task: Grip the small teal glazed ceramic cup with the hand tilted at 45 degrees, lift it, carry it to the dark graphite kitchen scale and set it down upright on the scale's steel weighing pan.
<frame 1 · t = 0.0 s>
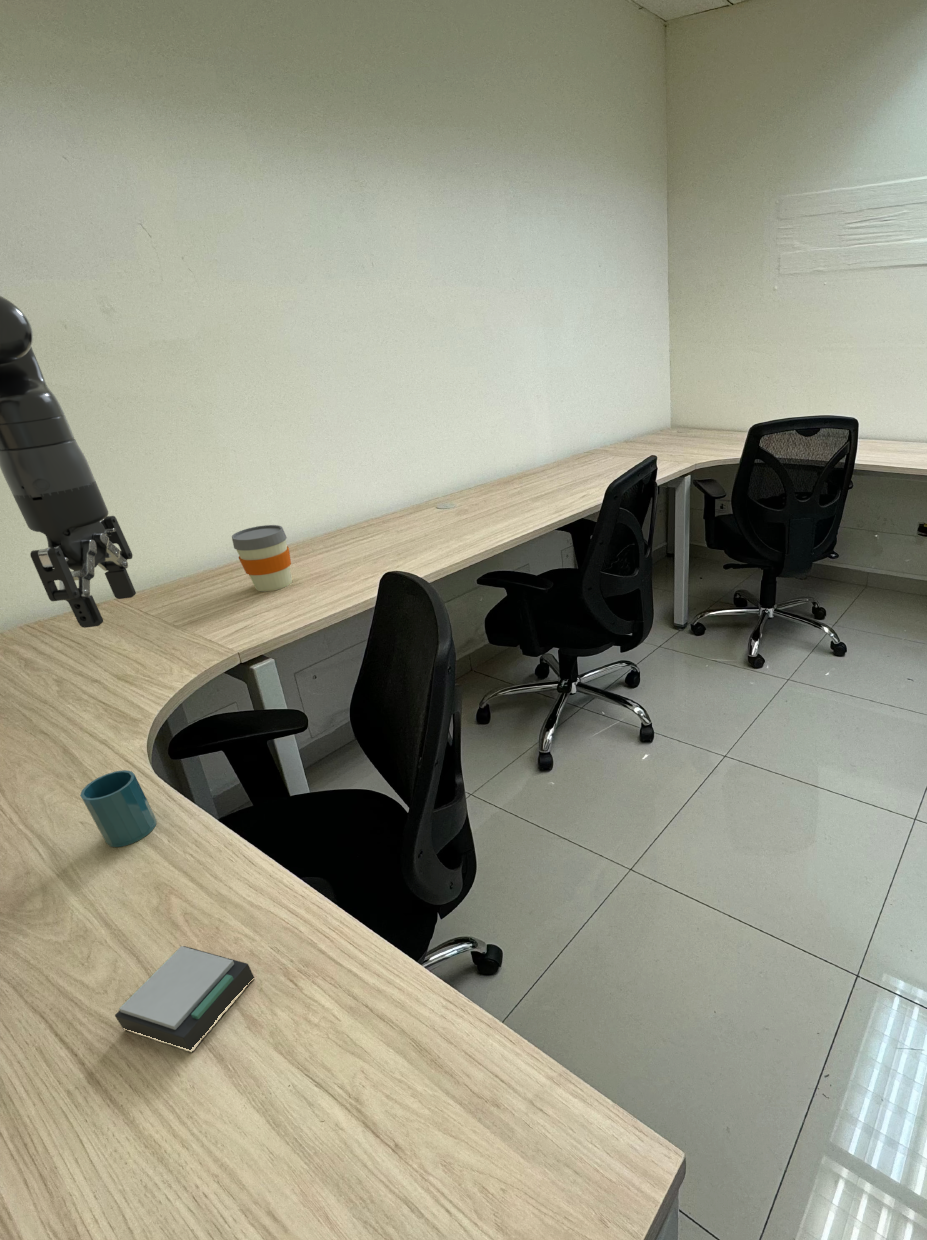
hand: (110, 610, 81), 33 cm above the table, tool pointing down, fingers open, 8 cm apart
scale: (191, 1003, 68), on the table
reusable coffee cup: (274, 585, 175), on the table
ceramic cup: (131, 831, 92), on the table
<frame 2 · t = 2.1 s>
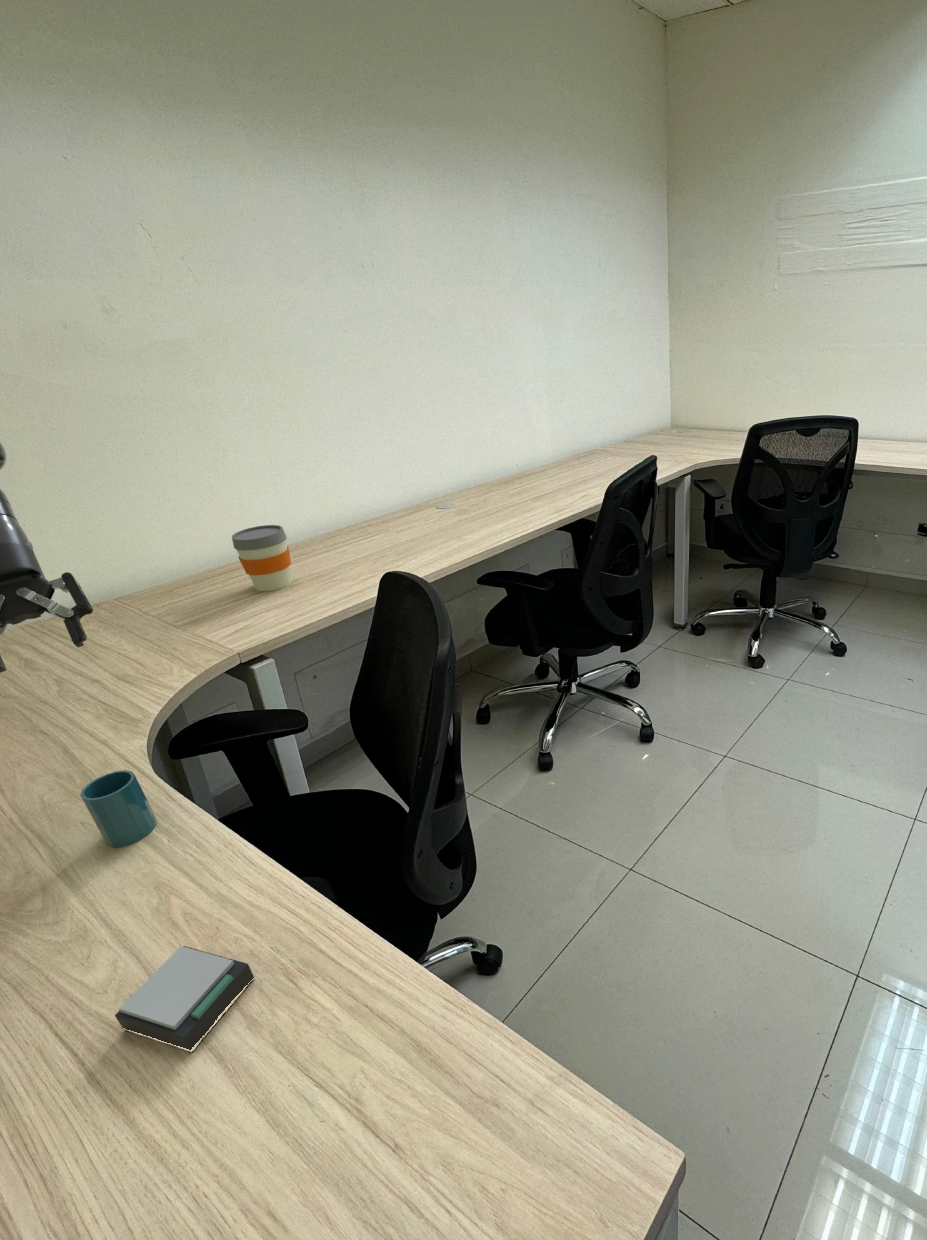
hand: (41, 657, 87), 25 cm above the table, tool tilted 40°, fingers open, 8 cm apart
nothing on the table moved.
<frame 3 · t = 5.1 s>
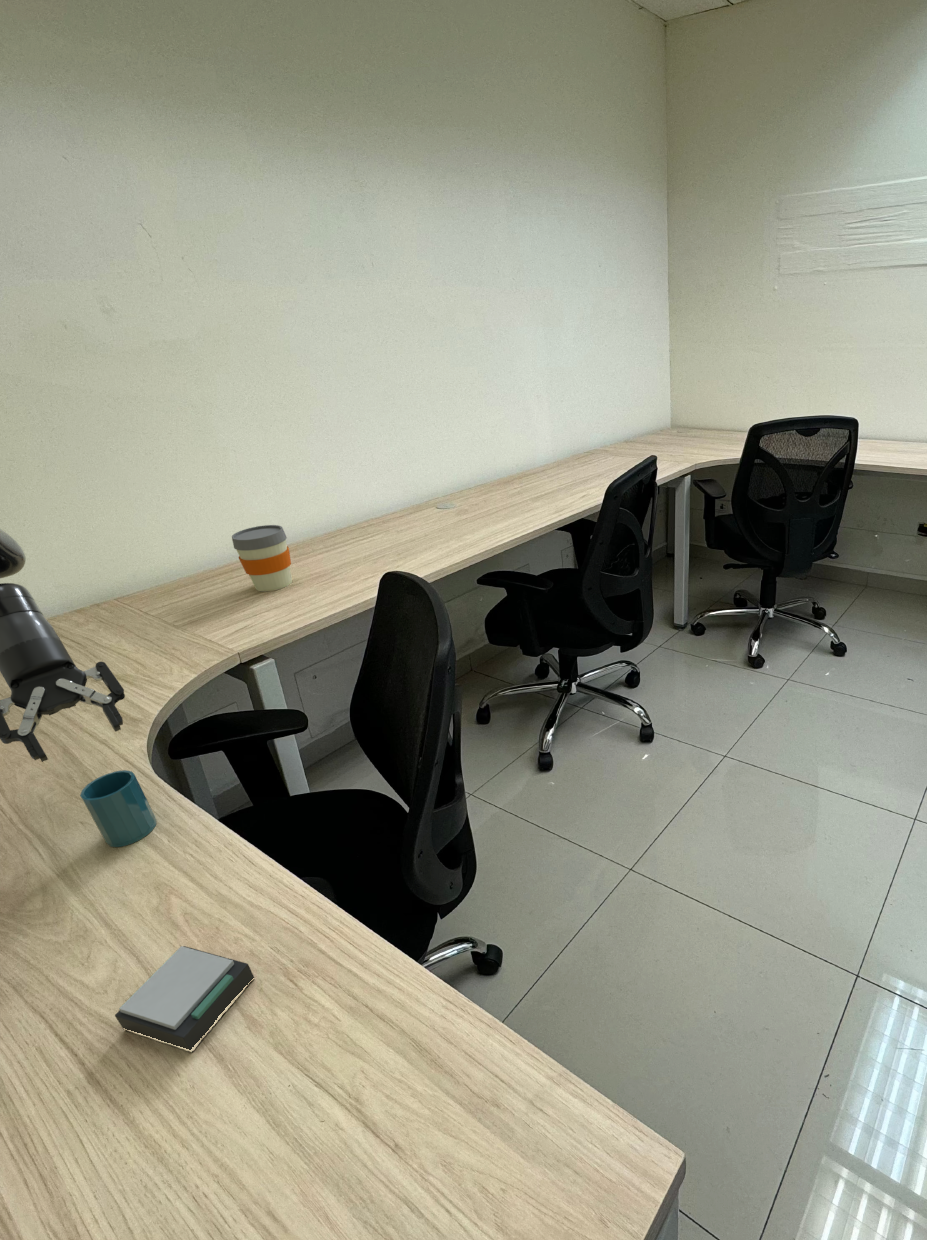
hand: (82, 743, 91), 12 cm above the table, tool tilted 45°, fingers open, 8 cm apart
nothing on the table moved.
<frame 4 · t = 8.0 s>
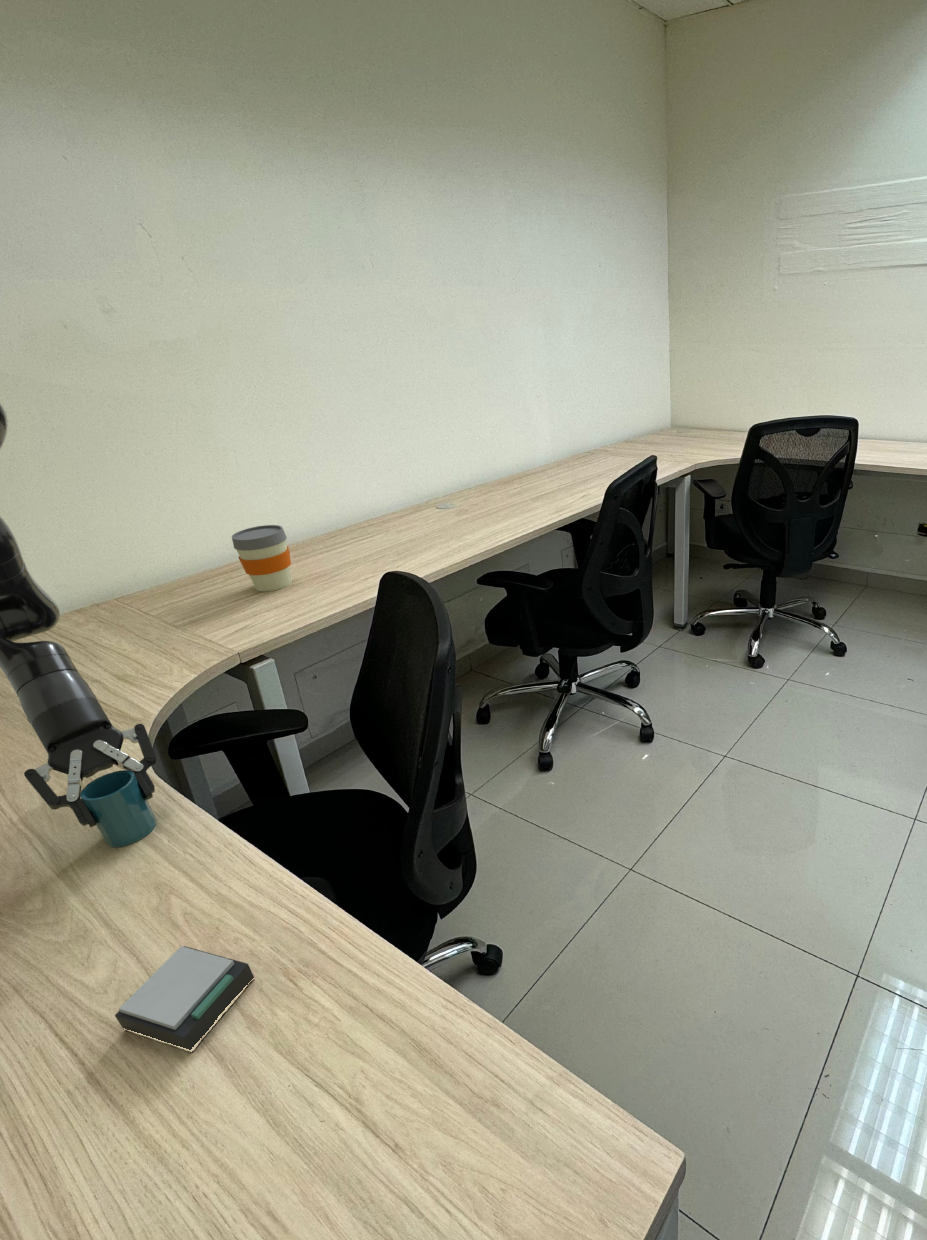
hand: (122, 810, 89), 5 cm above the table, tool tilted 45°, fingers closed on ceramic cup, 6 cm apart
ceramic cup: (131, 831, 92), on the table, touching gripper
everything else where it was.
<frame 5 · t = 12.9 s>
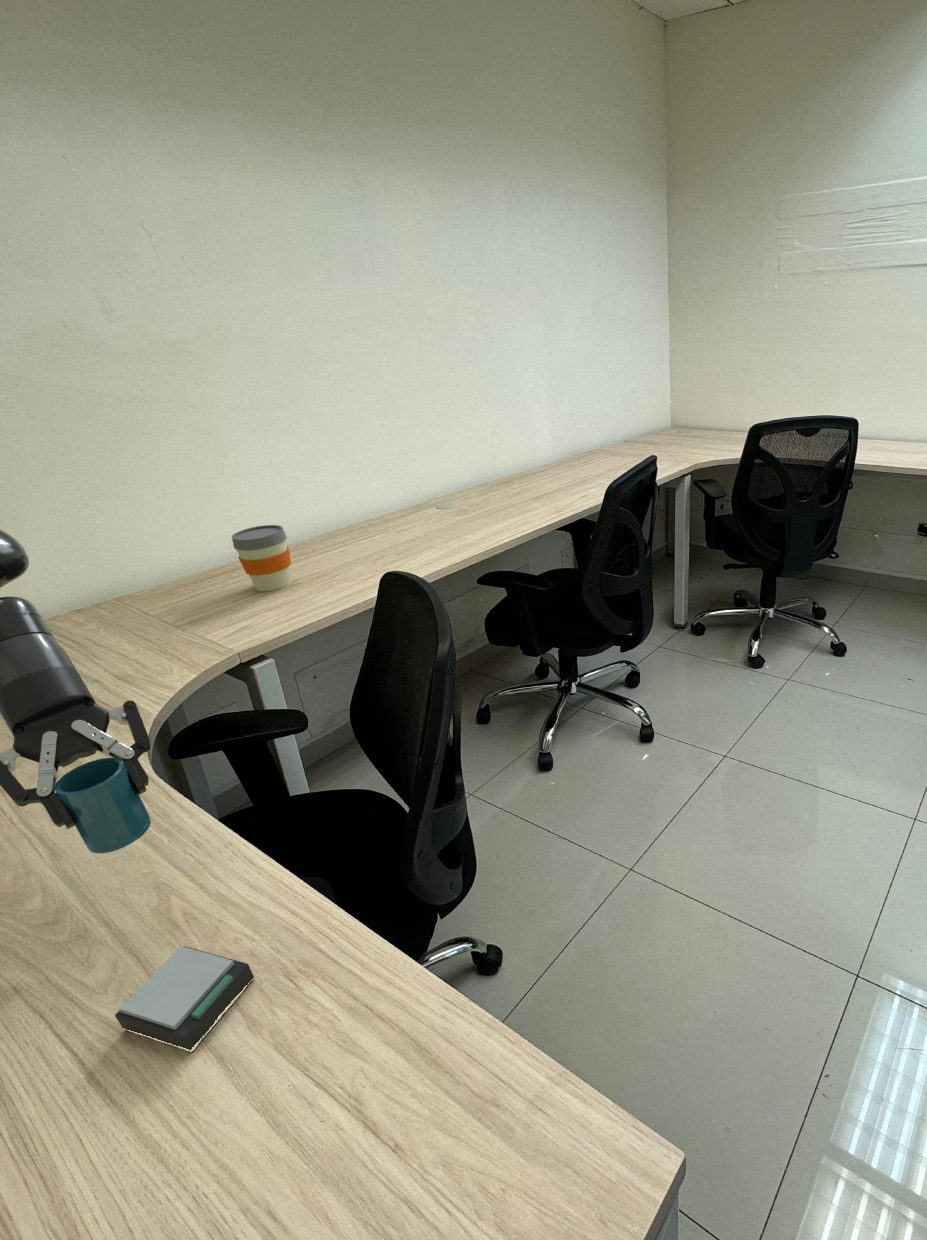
hand: (107, 807, 71), 17 cm above the table, tool tilted 45°, fingers closed on ceramic cup, 6 cm apart
ceramic cup: (119, 833, 74), point 12 cm above the table, touching gripper
everything else where it was.
when the fingers open (8 cm above the table, at t = 18.2 s): ceramic cup stays where it is, resting on scale.
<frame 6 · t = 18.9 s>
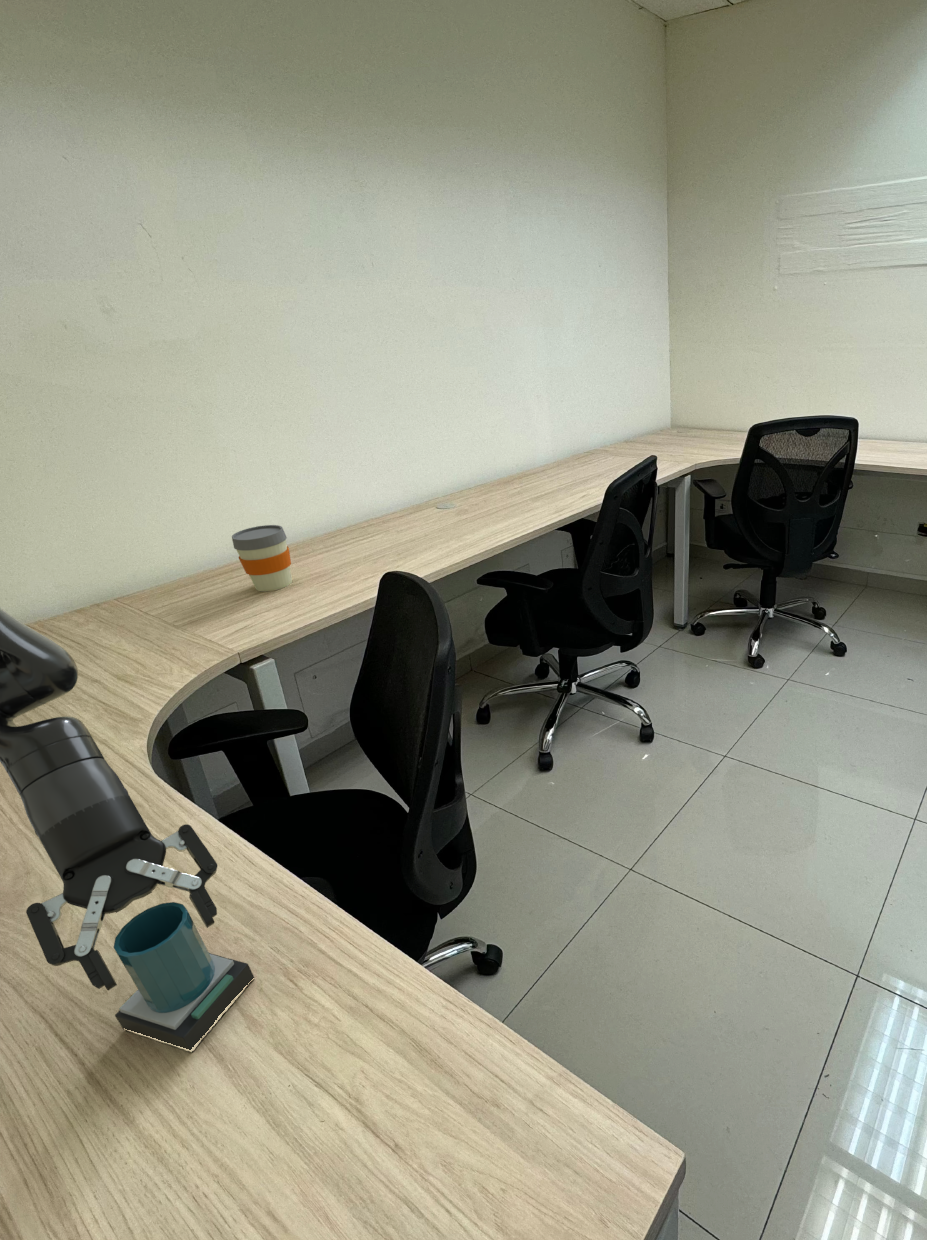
hand: (164, 954, 63), 9 cm above the table, tool tilted 45°, fingers open, 8 cm apart
ceramic cup: (182, 984, 67), point 3 cm above the table, touching scale
everything else where it was.
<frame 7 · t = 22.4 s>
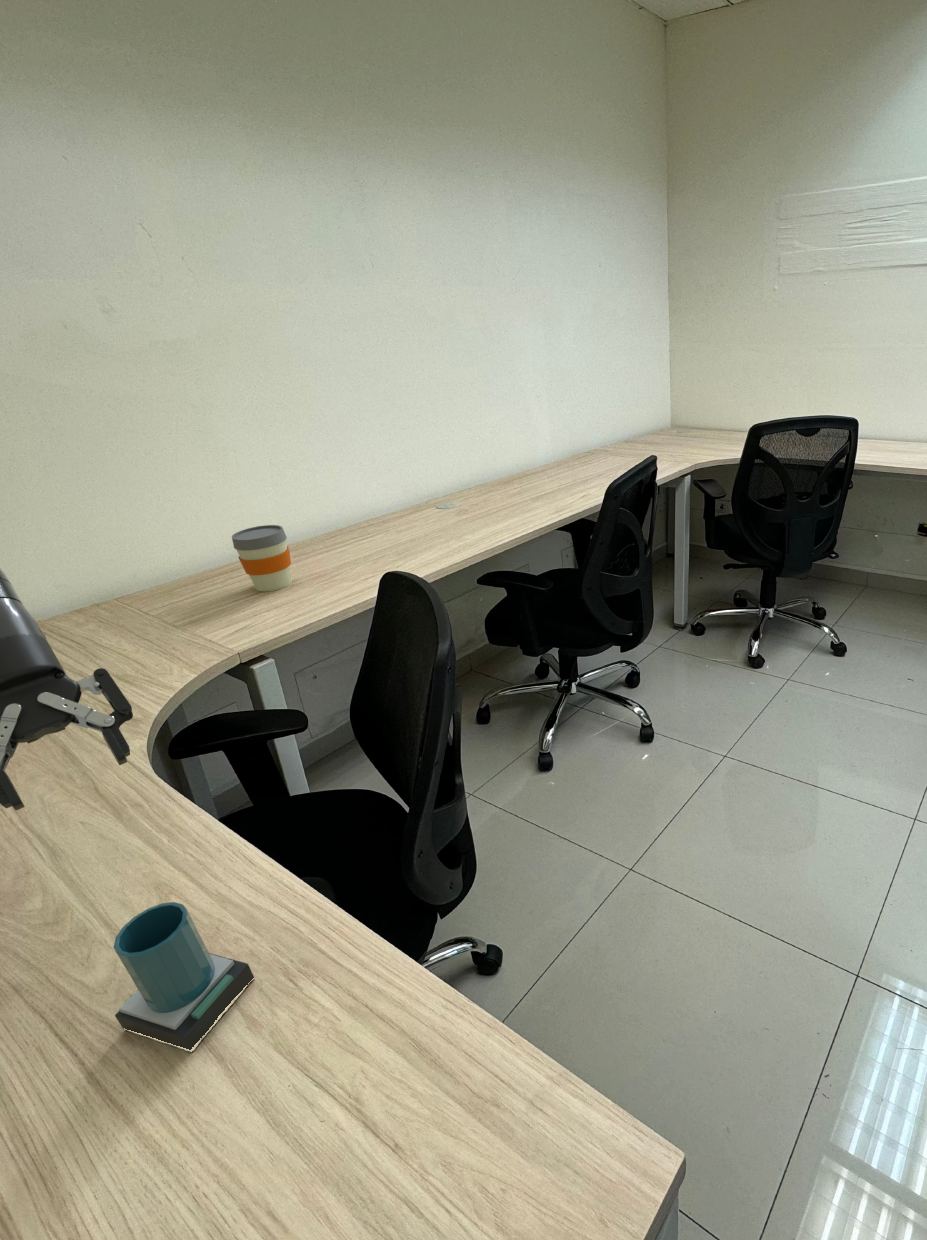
hand: (73, 783, 65), 23 cm above the table, tool tilted 45°, fingers open, 8 cm apart
nothing on the table moved.
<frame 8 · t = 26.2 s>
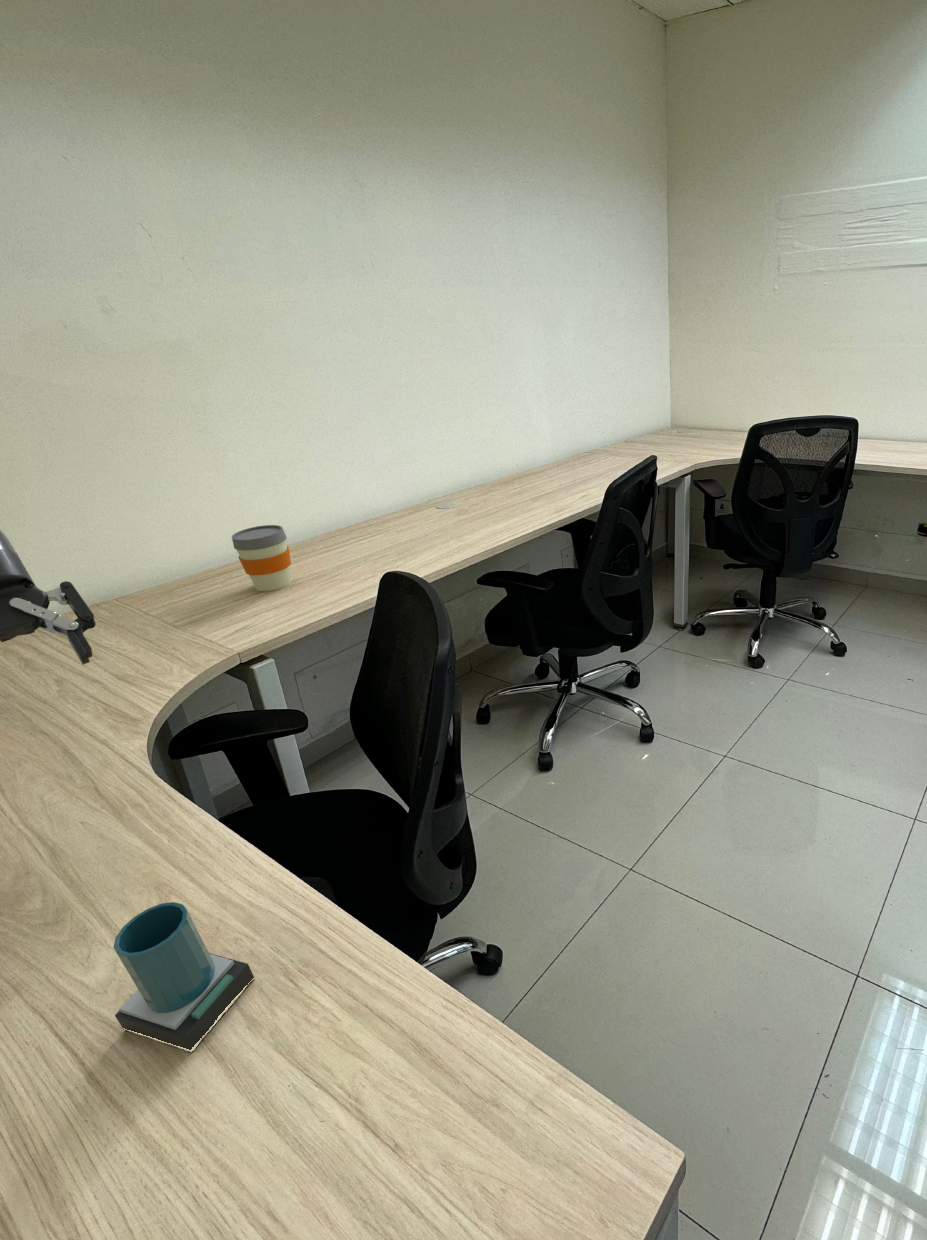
hand: (41, 676, 75), 29 cm above the table, tool tilted 45°, fingers open, 8 cm apart
nothing on the table moved.
at the end: ceramic cup 0.5 cm off-centre on the scale, point 3.1 cm above the scale's base; ceramic cup tilted 0°; the gripper is holding nothing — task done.
